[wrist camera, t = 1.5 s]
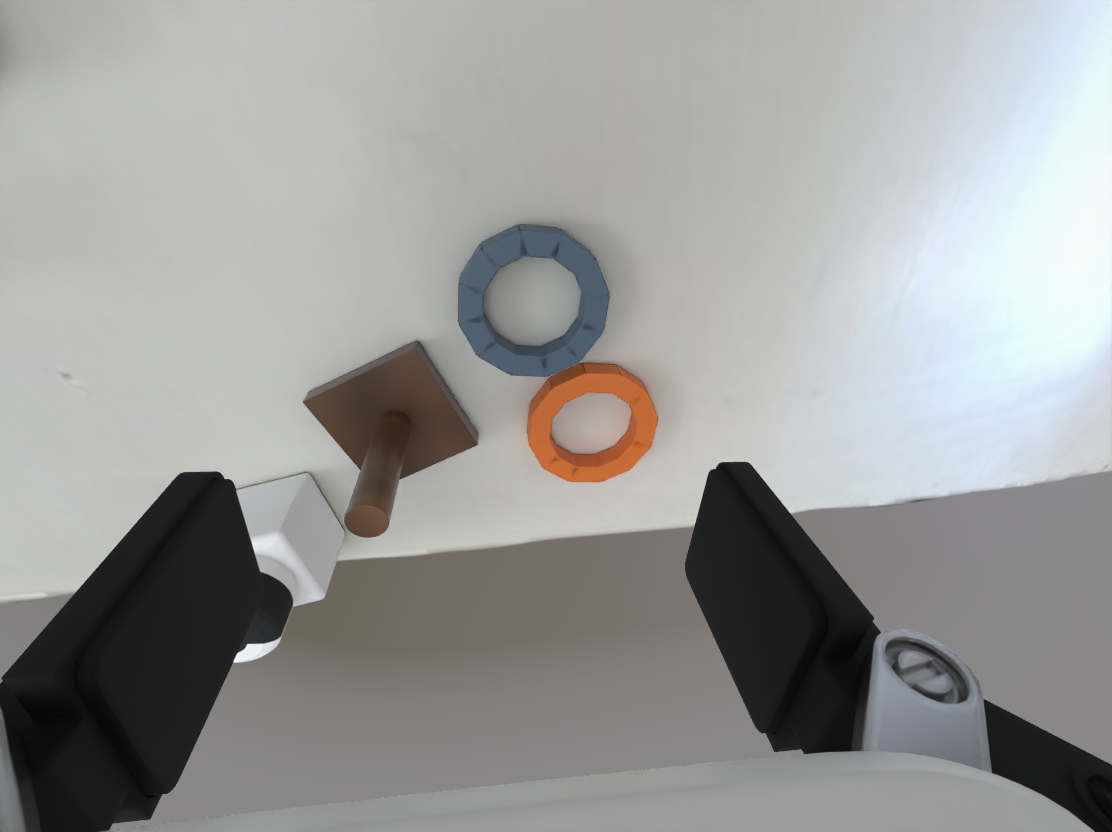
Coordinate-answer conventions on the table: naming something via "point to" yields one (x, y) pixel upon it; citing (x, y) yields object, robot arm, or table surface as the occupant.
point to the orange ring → (573, 386)
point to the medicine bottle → (287, 553)
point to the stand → (390, 428)
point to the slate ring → (506, 251)
